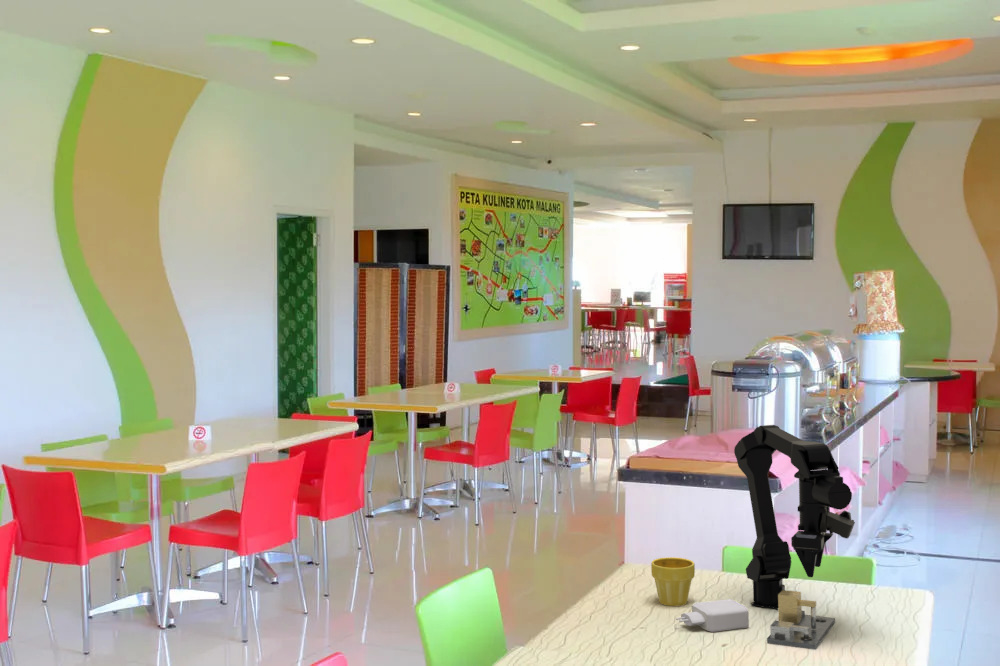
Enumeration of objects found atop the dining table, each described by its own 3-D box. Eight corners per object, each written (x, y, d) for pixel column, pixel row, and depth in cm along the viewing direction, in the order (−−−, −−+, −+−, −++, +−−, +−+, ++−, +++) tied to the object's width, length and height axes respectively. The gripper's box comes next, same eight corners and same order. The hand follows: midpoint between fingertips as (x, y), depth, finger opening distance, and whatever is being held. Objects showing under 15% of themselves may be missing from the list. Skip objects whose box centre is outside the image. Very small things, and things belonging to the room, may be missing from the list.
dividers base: (767, 643, 223) (766, 626, 223) (789, 617, 241) (789, 601, 241) (815, 649, 218) (815, 632, 218) (835, 622, 236) (834, 606, 236)
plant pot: (703, 605, 252) (702, 564, 252) (666, 610, 248) (665, 569, 248) (681, 594, 262) (680, 555, 261) (644, 599, 258) (643, 560, 258)
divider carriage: (778, 626, 230) (778, 594, 230) (783, 621, 233) (782, 590, 233) (813, 630, 226) (813, 598, 226) (818, 625, 230) (817, 593, 230)
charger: (668, 625, 238) (729, 617, 242) (687, 637, 229) (749, 629, 233) (668, 604, 238) (728, 597, 242) (686, 615, 229) (748, 608, 233)
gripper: (845, 511, 219) (846, 586, 220) (857, 495, 236) (858, 564, 237) (790, 508, 224) (791, 581, 225) (806, 492, 241) (807, 560, 242)
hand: (814, 571), depth 232 cm, fingers open, 9 cm apart
